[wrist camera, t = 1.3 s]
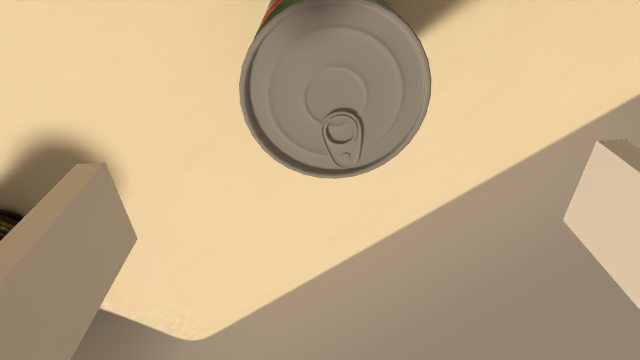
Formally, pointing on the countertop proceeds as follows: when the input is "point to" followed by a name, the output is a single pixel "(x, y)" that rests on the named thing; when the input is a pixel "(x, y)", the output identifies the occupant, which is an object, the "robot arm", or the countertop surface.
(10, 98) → the countertop surface
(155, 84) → the countertop surface
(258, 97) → the canned tomato
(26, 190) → the countertop surface
